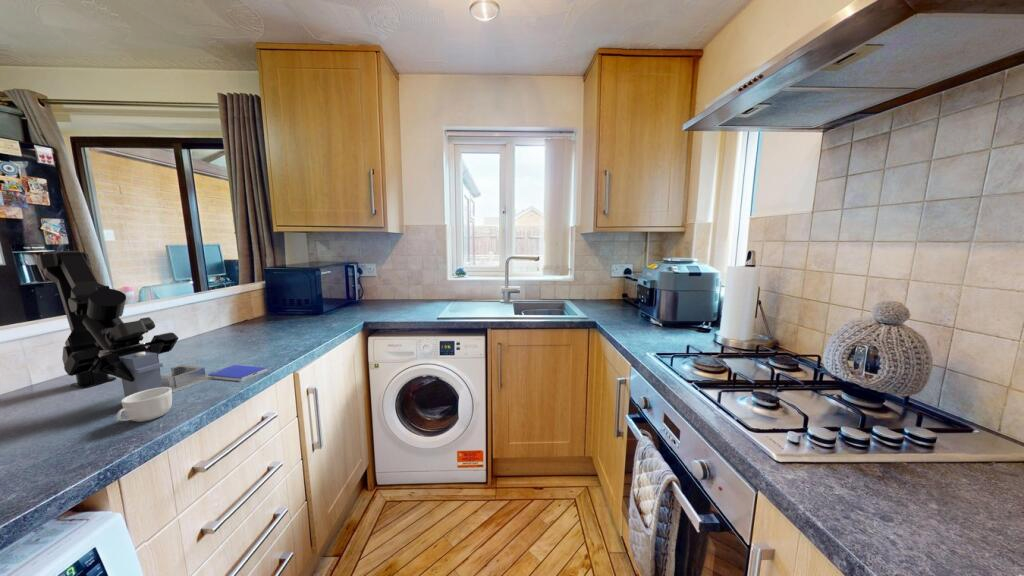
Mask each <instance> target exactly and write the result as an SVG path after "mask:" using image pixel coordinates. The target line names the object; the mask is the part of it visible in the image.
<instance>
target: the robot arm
mask: <svg viewBox="0 0 1024 576" xmlns="http://www.w3.org/2000/svg"><path fill="white" fill-rule="evenodd" d="M35 258H36V266H37V268H38V269H39V270H42V272H43V275H44V277H45V278H47V279H48V280H50V281H51V282H53V283H54V284H56V287H57V289H58V293H59V296H60V299H61V302H62V303H61V304H62V305H63V309H64V312H65V315H66V319H67V323H68V325H69V328H70V334H69V335H68V336H67V338H66V340H65V342H64V345H65V346H64V345H63V347H62V348H63V349H62V358H61V359H62V361H63V362H62V363H63V369H64V371H65V372H66V374H67V375H68V376H70V377H73V376H75V379H76V382H72V383H71V384H70V387H75V388H82V389H87V388H90V387H92V386H97V385H100V384H103V383H106V382H111V381H114V380H116V379H117V378H120V379H121V380H122V379H124V380H127V381H130V382H133V381H134V377H133V375H132V374H131V372H130V371H129V370H128V369H127V368H126V367H125V366H124V365H123V363H122V362H121V361H120V358H119V357H122V356H126V355H130V354H134V353H139V352H151V353H157V356H158V363H160V358H159V355H161V354H164V353H169V352H170V351H172V350H173V349H174V346H176V343H177V341H178V340H179V337H178V336H177V335H176V333H174V332H165V333H161V334H156V335H153V337H152V338H151V340H150V341H148V342H142V343H141V341H143V340H144V336H143V335H144V334H147V333H149V332H150V331H152V330H154V329H155V327H156V324H155V322H154V321H153V319H151V317H149V316H148V317H142V318H140V319H138V320H135V321H128V322H123V320H122V319H121V317H122V316H123V314H124V310H125V306H126V305H125V304H126V301H127V295H126V294H125V293H124V292H122V291H121V290H118V289H115V288H110V287H109V285H104V284H101V283H99V281H98V280H97V278H96V276H95V274H94V273H93V271H92V269H91V262H90V257H89V253H87V252H84V251H80V250H64V251H63V250H62V251H61V250H59V251H51V252H50V251H49V252H47V251H44V252H42V254H38V255H37V256H36V257H35ZM159 369H160V370H161V367H160V368H159Z"/></svg>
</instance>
